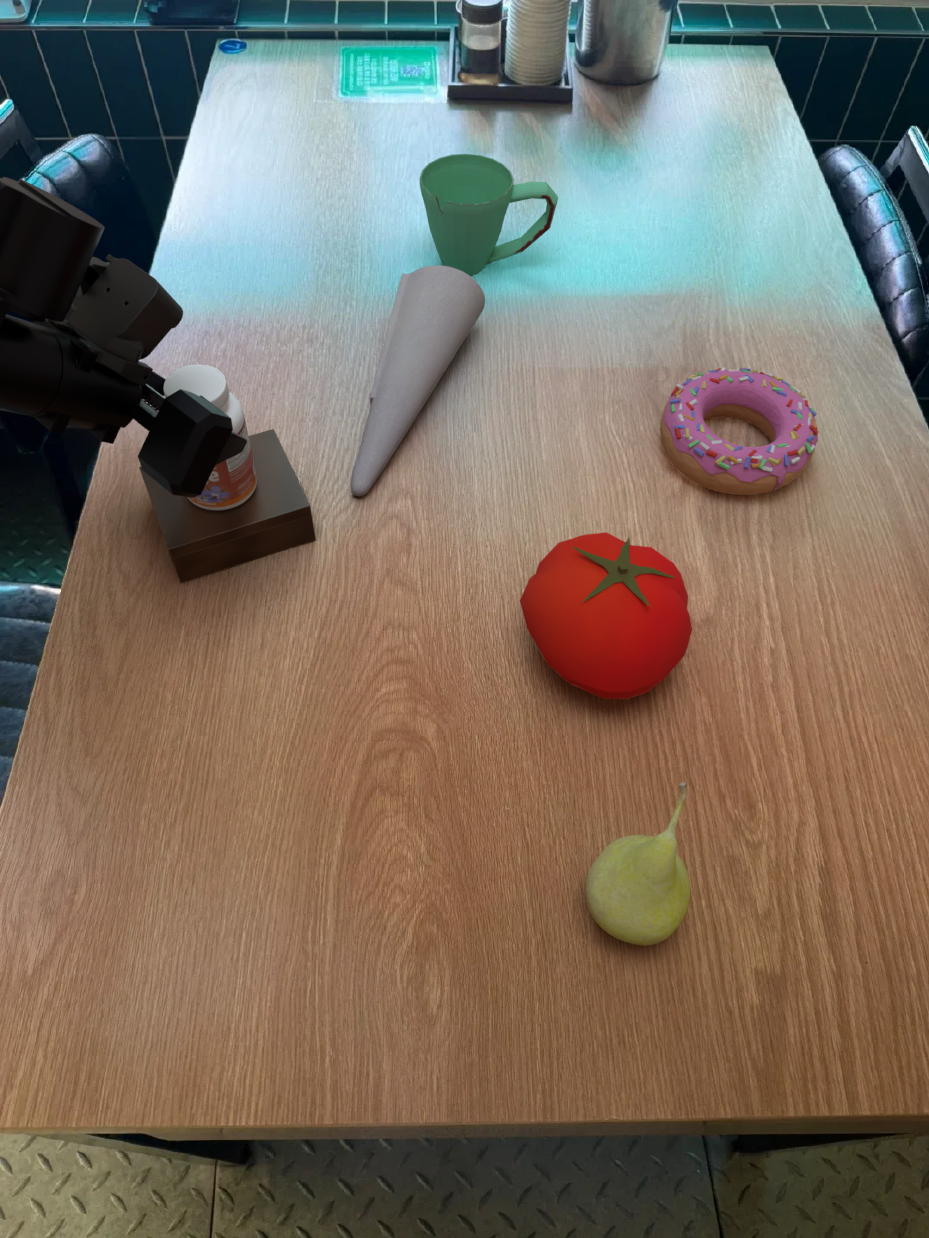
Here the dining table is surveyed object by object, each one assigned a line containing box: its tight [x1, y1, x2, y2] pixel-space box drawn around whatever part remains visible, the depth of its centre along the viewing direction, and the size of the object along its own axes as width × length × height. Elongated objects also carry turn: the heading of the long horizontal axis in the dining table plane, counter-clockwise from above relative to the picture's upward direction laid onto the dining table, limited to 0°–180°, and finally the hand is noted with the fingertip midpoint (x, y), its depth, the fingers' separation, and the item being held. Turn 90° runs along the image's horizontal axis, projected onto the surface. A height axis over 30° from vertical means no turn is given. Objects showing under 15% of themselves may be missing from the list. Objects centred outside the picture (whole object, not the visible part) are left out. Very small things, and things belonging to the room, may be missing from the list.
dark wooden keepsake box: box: [139, 428, 317, 584], centre depth 82 cm, size 12×10×4 cm
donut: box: [659, 367, 819, 496], centre depth 88 cm, size 14×14×5 cm
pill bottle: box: [164, 363, 257, 510], centre depth 75 cm, size 6×6×11 cm
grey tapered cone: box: [350, 264, 486, 497], centre depth 91 cm, size 8×9×26 cm
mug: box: [419, 153, 559, 277], centre depth 103 cm, size 15×10×10 cm
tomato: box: [519, 531, 693, 700], centre depth 72 cm, size 13×12×11 cm
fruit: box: [584, 781, 692, 947], centre depth 60 cm, size 7×8×12 cm
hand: (205, 416), depth 74 cm, fingers open, 9 cm apart
